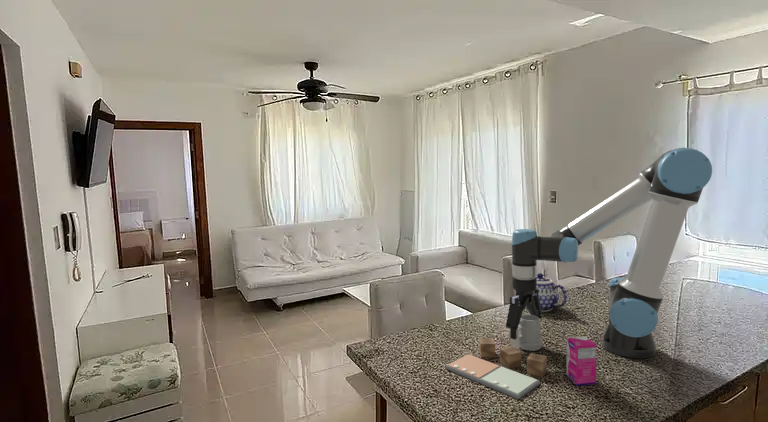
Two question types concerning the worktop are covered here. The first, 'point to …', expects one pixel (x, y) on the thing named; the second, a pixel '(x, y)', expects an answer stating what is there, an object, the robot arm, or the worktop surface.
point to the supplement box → (581, 360)
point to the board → (493, 376)
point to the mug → (529, 332)
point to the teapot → (549, 293)
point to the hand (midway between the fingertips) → (524, 342)
